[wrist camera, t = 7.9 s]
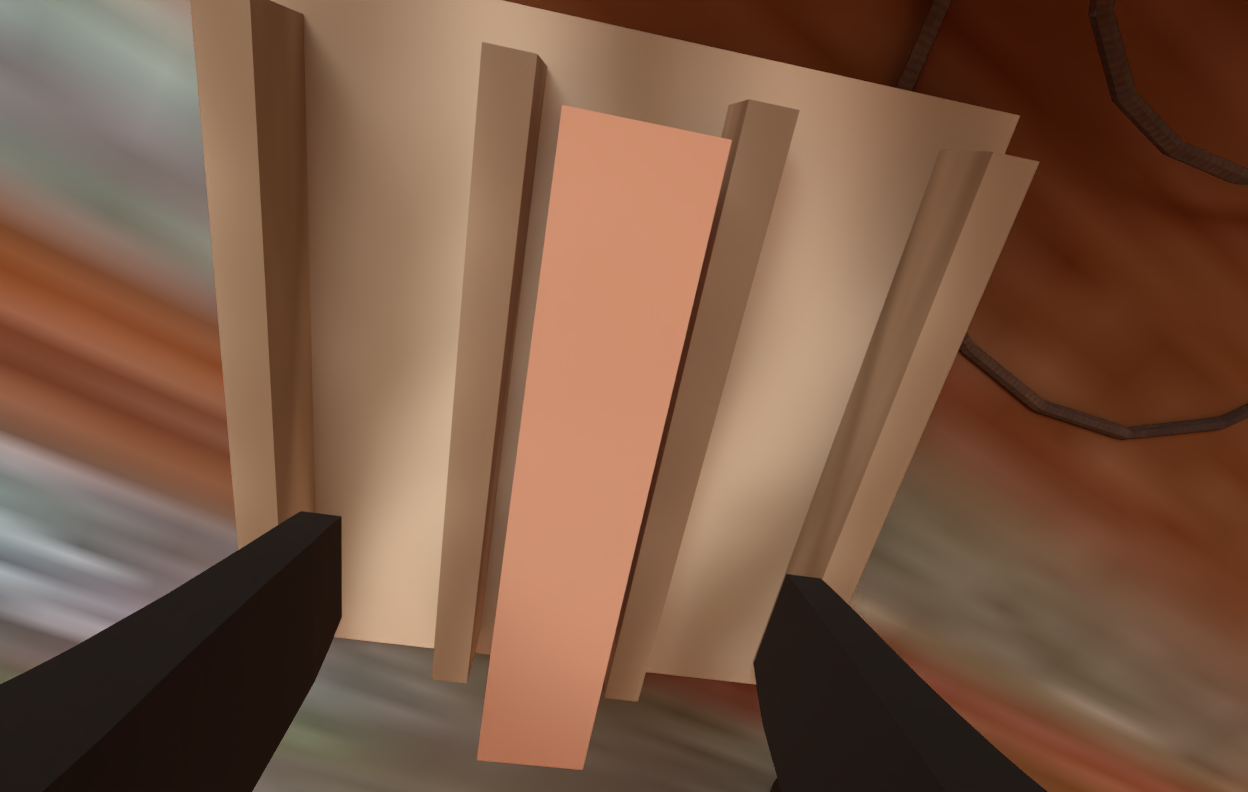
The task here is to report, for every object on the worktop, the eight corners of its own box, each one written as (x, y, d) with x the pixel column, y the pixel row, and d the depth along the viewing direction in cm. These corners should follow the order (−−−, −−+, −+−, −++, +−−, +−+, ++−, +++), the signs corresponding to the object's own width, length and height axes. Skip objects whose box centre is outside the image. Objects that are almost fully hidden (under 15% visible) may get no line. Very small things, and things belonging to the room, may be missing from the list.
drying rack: (287, 602, 20) (231, 683, 17) (255, -45, 13) (149, -100, 10) (777, 659, 21) (805, 742, 18) (988, 117, 14) (1086, 112, 11)
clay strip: (508, 605, 18) (476, 760, 14) (577, 116, 13) (561, 104, 8) (588, 614, 19) (582, 770, 14) (687, 139, 13) (731, 140, 9)
